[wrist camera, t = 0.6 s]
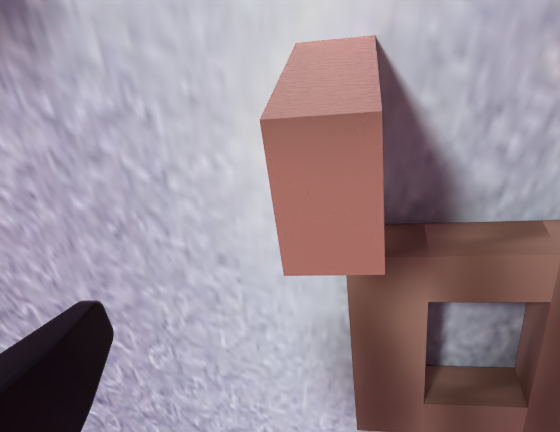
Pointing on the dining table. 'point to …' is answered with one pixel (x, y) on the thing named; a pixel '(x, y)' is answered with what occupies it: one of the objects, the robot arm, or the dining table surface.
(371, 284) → the board with rectangular hole
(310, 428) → the dining table surface
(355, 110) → the reddish brown block
